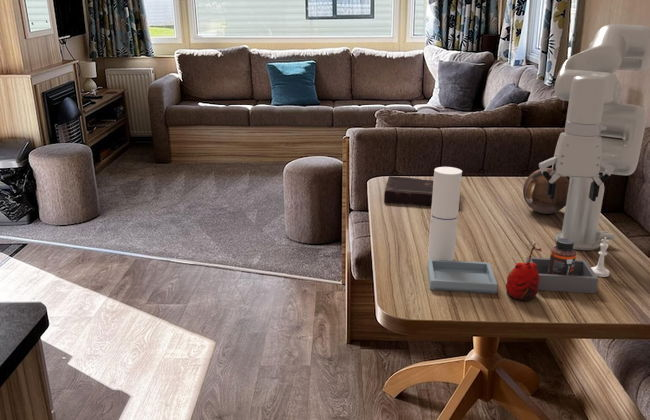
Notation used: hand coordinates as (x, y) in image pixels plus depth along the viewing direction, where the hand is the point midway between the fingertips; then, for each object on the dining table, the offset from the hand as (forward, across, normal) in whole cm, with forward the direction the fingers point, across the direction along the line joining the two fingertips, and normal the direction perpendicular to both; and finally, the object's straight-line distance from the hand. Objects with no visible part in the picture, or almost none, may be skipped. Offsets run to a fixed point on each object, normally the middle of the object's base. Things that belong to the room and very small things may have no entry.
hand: (571, 198), depth 154 cm
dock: (+22, 0, 0) cm, 22 cm away
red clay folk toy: (+23, +11, +10) cm, 27 cm away
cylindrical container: (+22, +29, -11) cm, 38 cm away
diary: (+23, +32, -64) cm, 75 cm away
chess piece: (+22, -12, -7) cm, 27 cm away
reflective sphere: (+22, -8, -54) cm, 59 cm away
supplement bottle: (+22, 0, 0) cm, 23 cm away
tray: (+22, +25, +3) cm, 34 cm away
